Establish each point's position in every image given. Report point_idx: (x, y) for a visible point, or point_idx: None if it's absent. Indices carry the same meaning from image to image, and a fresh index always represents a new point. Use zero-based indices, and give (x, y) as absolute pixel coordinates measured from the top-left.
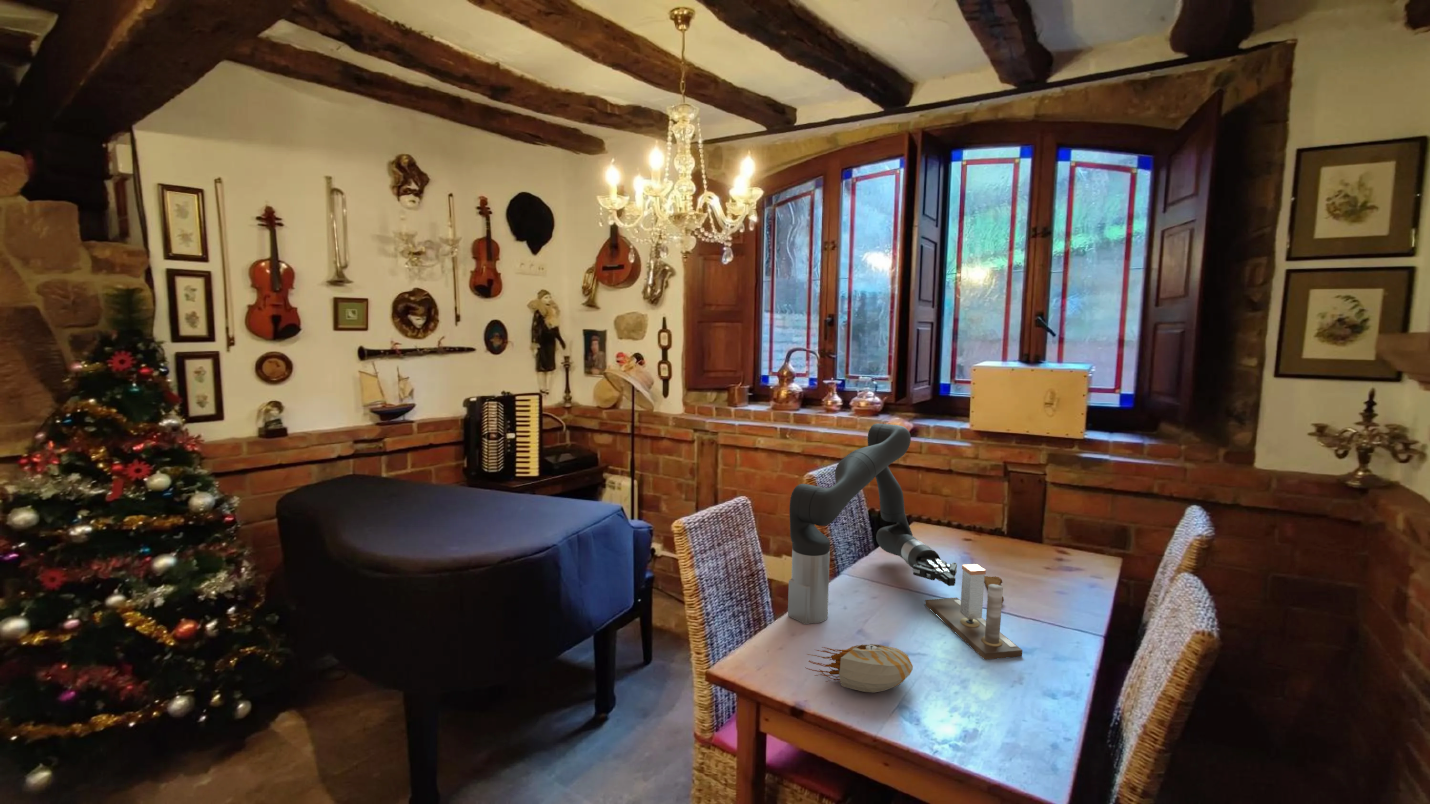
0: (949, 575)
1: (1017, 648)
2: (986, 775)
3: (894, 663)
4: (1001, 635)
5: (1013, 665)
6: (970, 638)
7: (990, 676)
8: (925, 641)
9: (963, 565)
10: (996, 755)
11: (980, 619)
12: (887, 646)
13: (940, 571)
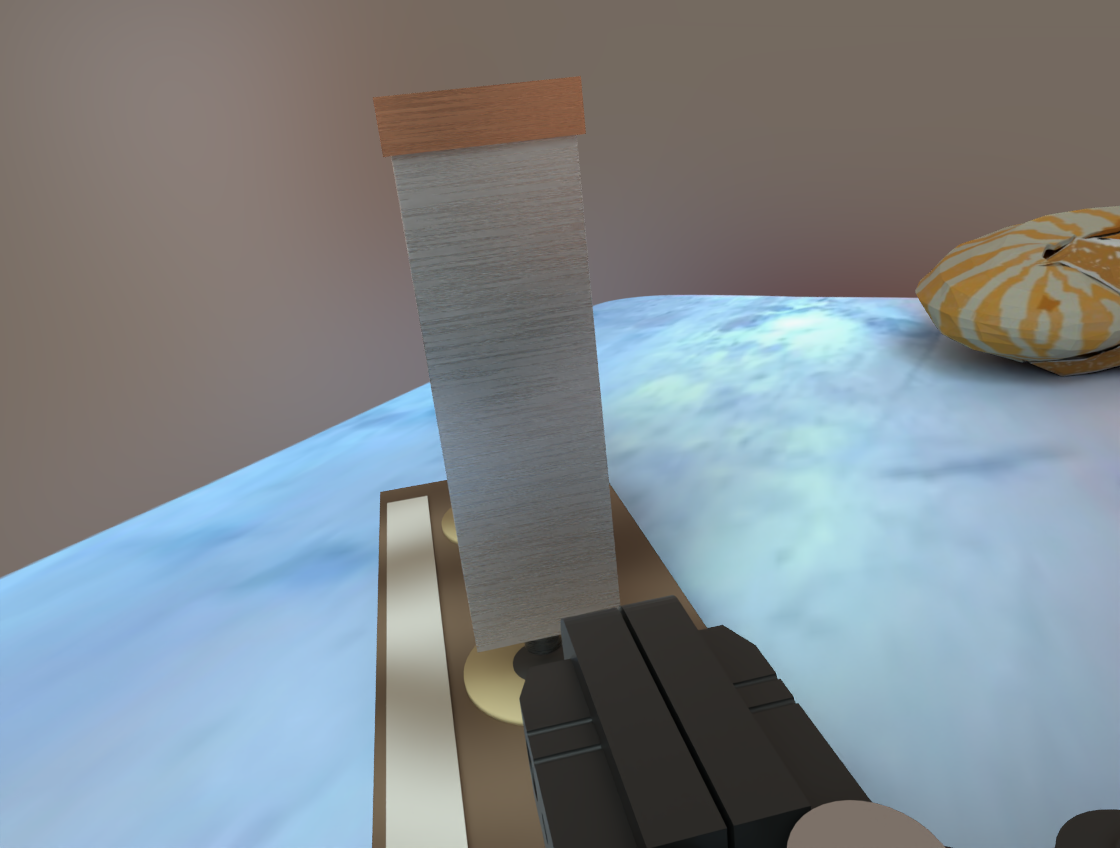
0: (642, 680)
1: (396, 497)
2: (726, 295)
3: (977, 240)
4: (401, 560)
5: None
6: (621, 521)
7: (611, 430)
8: (910, 548)
9: (568, 79)
10: (694, 311)
11: (419, 717)
12: (1043, 260)
13: (877, 833)
